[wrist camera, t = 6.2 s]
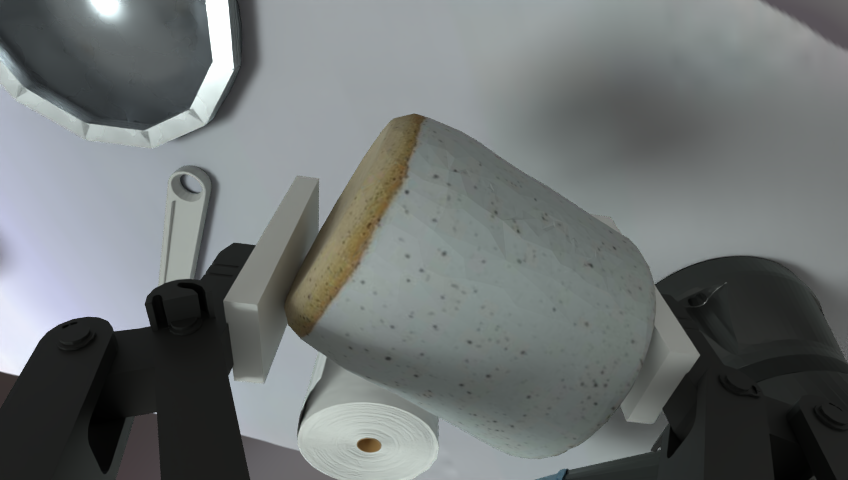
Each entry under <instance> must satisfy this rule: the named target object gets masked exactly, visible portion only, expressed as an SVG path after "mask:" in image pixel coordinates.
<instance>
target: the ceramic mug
mask: <svg viewBox="0 0 848 480" xmlns="http://www.w3.org/2000/svg"><path fill="white" fill-rule="evenodd" d="M284 310H285V314H286V317H287V321H288V325H289V326H290V327H291V328H292V329H293V331H294V332H295V333H296V334H297V335H298V336H299V337H300V338H301V339H302V340H303V341H305V342H306V343H307V344H309V345H310V346H312V347H313V348H315V349H316V350H318V351H319V352H320V353H322V354H323V355H325V356H326V357H328V358H329V359H331V360H332V361H333V362H335V363H336V364H338V365H339V366H341V367H342V368H344V369H345V370H347V371H349V372H351V373H353V374H355V375H357V376H359V377H361V378H363V379H365V380H367V381H369V382H371V383H374V384H376V385H378V386H380V387H382V388H384V389H386V390H389V391H391V392H393V393H395V394H397V395H399V396H401V397H402V398H404V399H406V400H408V401H410V402H411V403H413V404H415V405H417V406H419V407H420V408H422V409H424V410H426V411H428V412H430V413H431V414H433V415H435V416H437V417H439V418H441V419H442V420H444V421H446V422H448V423H450V424H452V425H453V426H455V427H457V428H459V429H461V430H463V431H464V432H466V433H468V434H470V435H472V436H473V437H475V438H477V439H479V440H481V441H483V442H484V443H486V444H488V445H490V446H492V447H493V448H496V449H498V450H500V451H502V452H505V453H507V454H509V455H512V456H516V457H520V458H528V459H542V458H547V457H552V456H557V455H560V454H562V453H564V452H566V451H567V450H568V449H571V448H573V447H576V446H578V445H580V444H581V443H583V442H584V441H586V440H587V439H588V438H589V437H591V436H592V435H593V434H594V433H595V432H596V431H597V430H598V429H600V428H601V427H602V426H603V425H604V424H605V423H606V422H607V421H608V420H609V418H610V417H611V416H612V415H613V413H614V412H615V411H616V410H617V408H618V407H619V406H620V405H621V403H622V402H623V400H624V399H625V398H626V396H627V395H628V393H629V392H630V391H631V389H632V387H633V385H634V383H635V381H636V379H637V377H638V375H639V373H640V371H641V369H642V367H643V364H644V361H645V357H646V354H647V351H648V348H649V345H650V341H651V337H652V333H653V328H654V322H655V315H656V295H655V286H654V282H653V278H652V275H651V271H650V268H649V266H648V264H647V263H646V261H645V259H644V258H643V256H642V254H641V253H640V251H639V250H638V248H637V247H636V246H635V245H634V244H633V243H632V242H631V241H630V240H629V239H628V238H627V237H625V236H624V235H622V234H620V233H619V232H617V231H616V230H614V229H612V228H611V227H609V226H608V225H606V224H605V223H603V222H601V221H600V220H598V219H597V218H595V217H593V216H592V215H590V214H589V213H587V212H586V211H584V210H583V209H581V208H580V207H578V206H577V205H575V204H574V203H572V202H571V201H569V200H568V199H566V198H565V197H563V196H561V195H560V194H558V193H557V192H555V191H554V190H552V189H551V188H549V187H548V186H546V185H544V184H543V183H541V182H539V181H537V180H536V179H534V178H532V177H530V176H529V175H527V174H525V173H524V172H522V171H521V170H519V169H518V168H516V167H514V166H513V165H511V164H510V163H508V162H507V161H505V160H504V159H502V158H501V157H499V156H498V155H497V154H495V153H494V152H492V151H491V150H489V149H488V148H487V147H485V146H484V145H482V144H481V143H480V142H478V141H477V140H475V139H473V138H472V137H470V136H468V135H466V134H465V133H463V132H461V131H459V130H457V129H454V128H452V127H450V126H447V125H445V124H443V123H440V122H438V121H435V120H433V119H431V118H428V117H425V116H421V115H418V114H411V115H406V116H402V117H398V118H394V119H393V120H391V121H390V122H389V123H388V124H387V126H386V127H385V128H384V129H383V130H382V132H381V133H380V135H379V136H378V137H377V139H376V140H375V142H374V143H373V145H372V146H371V147H370V149H369V150H368V152H367V153H366V155H365V156H364V158H363V160H362V161H361V163H360V164H359V166H358V168H357V169H356V171H355V172H354V174H353V176H352V177H351V179H350V181H349V182H348V184H347V186H346V187H345V189H344V191H343V192H342V194H341V196H340V197H339V199H338V200H337V202H336V204H335V206H334V207H333V209H332V211H331V213H330V214H329V216H328V218H327V220H326V221H325V223H324V225H323V226H322V228H321V230H320V231H319V233H318V235H317V237H316V239H315V241H314V243H313V244H312V246H311V248H310V250H309V252H308V254H307V256H306V257H305V259H304V261H303V263H302V265H301V267H300V268H299V270H298V272H297V274H296V276H295V278H294V281H293V283H292V285H291V287H290V290H289V292H288V295H287V297H286V300H285V305H284Z"/></svg>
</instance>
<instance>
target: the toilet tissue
mask: <svg viewBox="0 0 848 480" xmlns="http://www.w3.org/2000/svg"><path fill="white" fill-rule="evenodd" d="M438 422H439V420H438V417H437V416H435V415H433V414H431V413H430V412H428V411H426V410H424V409H422V408H420V407H419V406H417V405H415V404H413V403H411V402H410V401H408V400H406V399H404V398H402V397H401V396H399V395H397V394H395V393H393V392H391V391H389V390H386V389H384V388H382V387H380V386H378V385H376V384H374V383H371V382H369V381H367V380H365V379H363V378H361V377H359V376H357V375H355V374H353V373H351V372H349V371H347V370H345V369H344V368H342V367H341V366H339V365H338V364H336V363H335V362H333V361H332V360H331V359H329V358H328V357H326V356H325V355H323V354H322V353H320V352H319V351H318V354H317V358H316V361H315V365H314V369H313V372H312V376H311V379H310V383H309V386H308V389H307V393H306V397H305V400H304V403H303V407H302V410H301V414H300V418H299V424H298V433H297V441H298V446H299V449H300V452H301V453H302V455H303V456H304V458H305V459H306V460H307V461H308V462H309V463H310V464H311V465H312V466H313V467H315V468H316V469H318V470H319V471H321V472H322V473H324V474H326V475H329V476H331V477H333V478H336V479H339V480H411V479H413V478H414V477H416V476H418V475H419V474H421V473H423V472H424V471H426V470H428V469H429V468H430V466H431V465H432V463H433V462H434V461H435V460H436V459H437V453H438V449H439V443H438V437H439V431H438V429H439V426H438Z"/></svg>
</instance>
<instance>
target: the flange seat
mask: <svg viewBox="0 0 848 480" xmlns="http://www.w3.org/2000/svg"><path fill="white" fill-rule="evenodd" d="M241 49H242V25H241V18H240V11H239V5H238V1H237V0H0V84H1V85H2V86H3V88H4V89H5V90H6V91H7V92H8V93H9V94H10V95H11V96H12V98H13V99H15V98H16V99H15V100H16V101H18V102H19V103H21V104H23V105H25V106H26V107H28V108H30V109H32V110H33V111H35V112H37V113H39V114H40V115H42V116H44V117H46V118H47V119H49V120H51V121H53V122H54V123H56V124H58V125H60V126H61V127H63V128H65V129H67V130H68V131H70V132H72V133H74V134H75V135H77V136H79V137H81V138H82V139H84V140H85V139H86V140H88V141H95V142H103V143H111V144H119V145H126V146H134V147H142V148H150V149H152V148H156V147H158V146H160V145H162V144H165V143H167V142H169V141H171V140H173V139H176V138H178V137H180V136H182V135H185V134H187V133H189V132H191V131H194V130H196V129H198V128H200V127H202V126H205V125H206V124H207V123H209V122H210V121H211V120H212V119H214V117H215V115H216V113H217V111H218V109H219V107H220V105H221V104H222V103H223V101H224V100H225V98H226V97H227V95H228V93H229V92H230V90H231V88H232V85H233V83H234V81H235V78H236V75H237V72H238V71H239V69H240V67H241V66H240V65H241Z"/></svg>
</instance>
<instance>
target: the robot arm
mask: <svg viewBox="0 0 848 480" xmlns="http://www.w3.org/2000/svg"><path fill="white" fill-rule="evenodd" d="M590 215H592V214H590ZM592 216H593V217H595V218H597V219H598V220H600V221H601V222H603V223H605V224H606V225H608V226H609V227H611V228H612V229H614V230H616V231H617V232H619V233H620V234H621V232H620V231H619V229H618V228H617V226H616V225H615V223H614V222H613V220H612V219H611V217H607V216H599V215H592ZM318 226H319V178H311V177H303V176H297V177H296V178H295V180H294V182H293V183H292V185H291V187H290V188H289V190H288V192H287V194H286V195H285V197H284V199H283V200H282V202H281V204H280V205H279V207H278V209H277V211H276V212H275V214H274V216H273V217H272V219H271V221H270V222H269V224H268V226H267V227H266V229H265V231H264V233H263V234H262V236H261V238H260V239H259V241H258V243H257V244H256V245H249V244H241V243H233V244H231V245H230V246H228V247H227V248H225V249H224V250H222V251H221V252H220V253H219V254H218V256H217V257H216V259H215V260H214V261H213V263H212V265H211V266H210V267H209V269H208V270H207V271H206V275H204V276H203V277H202V279H201V280H200V281H199V280H193V279H179V280H174V281H170V282H167V283H164V284H162V285H160V286H159V287H157V288H155V289H154V290H153V291H152V292H151V293H150V294H149V295H148V296H147V299H146V302H145V306H146V310H147V314H148V318H149V321H150V325H151V326H150V327H145V328H139V329H131V330H123V331H113V328H112V326H111V325H110V323H109V322H108V321H106V320H104V319H101V318H98V317H83V318H77V319H72V320H70V321H67V322H64V323H62V324H59V325H58V326H56V327H55V328H53V329H51V330H50V331H48V332H47V333H46V334H45V335H44V337H43V338H42V339H41V340H40V341H39V343H38V345H37V346H36V348H35V350H34V352H33V353H32V355H31V357H30V358H29V360H28V362H27V364H26V365H25V367H24V369H23V370H22V372H21V374H20V376H19V377H18V379H17V381H16V382H15V384H14V386H13V388H12V389H11V391H10V393H9V395H8V396H7V398H6V400H5V401H4V403H3V405H2V407H1V408H0V480H116V477H117V473H118V470H119V467H120V463H121V460H122V457H123V454H124V450H125V447H126V444H127V440H128V437H129V434H130V431H131V427H132V424H133V421H134V417H135V416H137V415H143V414H149V413H155V412H157V421H158V435H159V436H158V437H159V454H160V470H161V480H250V477H249V472H248V467H247V463H246V458H245V453H244V448H243V445H242V439H241V434H240V430H239V425H238V420H237V415H236V411H235V406H234V401H233V397H232V392H231V387H230V382H229V378H228V375H229V373H230V371H231V369H232V367H233V375H234V381H242V382H251V383H261V384H264V383H265V380H266V378H267V375H268V373H269V370H270V367H271V365H272V362H273V360H274V357H275V354H276V352H277V349H278V347H279V344H280V341H281V339H282V336H283V334H284V331H285V328H286V326H287V323H288V321H287V317H286V314H285V310H284V305H285V300H286V297H287V295H288V292H289V290H290V287H291V285H292V283H293V281H294V278H295V276H296V274H297V272H298V270H299V268H300V267H301V265H302V263H303V261H304V259H305V257H306V256H307V254H308V252H309V250H310V248H311V246H312V244H313V243H314V241H315V239H316V237H317V235H318ZM654 286H655V295H656V315H655V322H654V328H653V333H652V337H651V341H650V345H649V348H648V351H647V354H646V357H645V361H644V364H643V367H642V369H641V371H640V373H639V375H638V377H637V379H636V381H635V383H634V385H633V387H632V389H631V391H630V392H629V393H628V395H627V396H626V398H625V399H624V400H623V402H622V403H621V405H620V407H621V409H622V412H623V414H624V417H625V419H626V421H627V422H637V423H646V424H654V422H655V421H656V419H657V418H658V416H659V415H660V413H661V412H662V411H664V413H665V415H666V417H667V419H668V421H669V424H668V425H667V427H666V428H665V430H664V431H663V432H662V434H661V435H660V437H659V438H658V439H657V441H656V442H655V444H654V445H653V447H652V449H651V451H653V452H649V453H644V454H640V455H635V456H631V457H626V458H622V459H617V460H613V461H608V462H604V463H599V464H595V465H590V466H586V467H581V468H577V469H572V470H569V469H562V470H560V471H559V472H558V473H557V474H554V475H550V476H546V477H543V478H539V479H536V480H848V363H847V361H846V360H845V358H844V356H843V354H842V352H841V350H840V347H839V345H838V343H837V341H836V339H835V337H834V335H833V333H832V331H831V329H830V327H829V325H828V323H827V321H826V320H825V318H824V314H823V312H822V309H821V306H820V303H819V301H818V299H817V298H816V296H815V295H814V294H813V292H812V291H811V290H810V289H809V288H808V287H807V286H806V285H805V284H804V283H803V282H802V281H801V280H800V279H798V278H797V277H796V276H795V275H794V274H793V273H792V272H791V271H789V270H788V269H787V268H785V267H783V266H781V265H780V264H777V263H775V262H772V261H769V260H765V259H760V258H754V257H729V258H721V259H715V260H710V261H706V262H703V263H699V264H696V265H693V266H691V267H688V268H685V269H683V270H681V271H679V272H677V273H675V274H673V275H671V276H669V277H667V278H666V279H664V280H662V281H661V282H659V283H658V284H657V285H654ZM659 447H661V450H658V451H657V449H658V448H659Z"/></svg>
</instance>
